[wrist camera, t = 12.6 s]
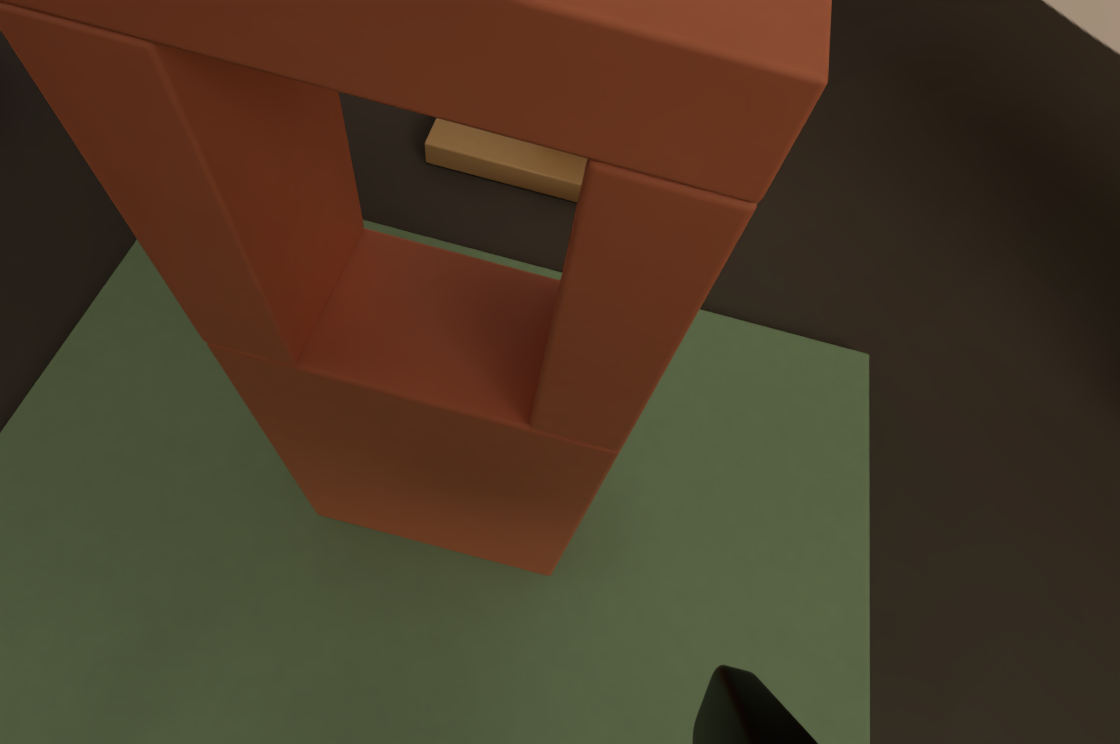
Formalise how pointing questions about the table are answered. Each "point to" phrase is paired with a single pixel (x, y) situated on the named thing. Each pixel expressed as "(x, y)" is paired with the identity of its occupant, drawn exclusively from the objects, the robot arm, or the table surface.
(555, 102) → the orange window block
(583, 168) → the hook stand
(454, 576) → the mat
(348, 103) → the table surface
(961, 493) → the table surface
